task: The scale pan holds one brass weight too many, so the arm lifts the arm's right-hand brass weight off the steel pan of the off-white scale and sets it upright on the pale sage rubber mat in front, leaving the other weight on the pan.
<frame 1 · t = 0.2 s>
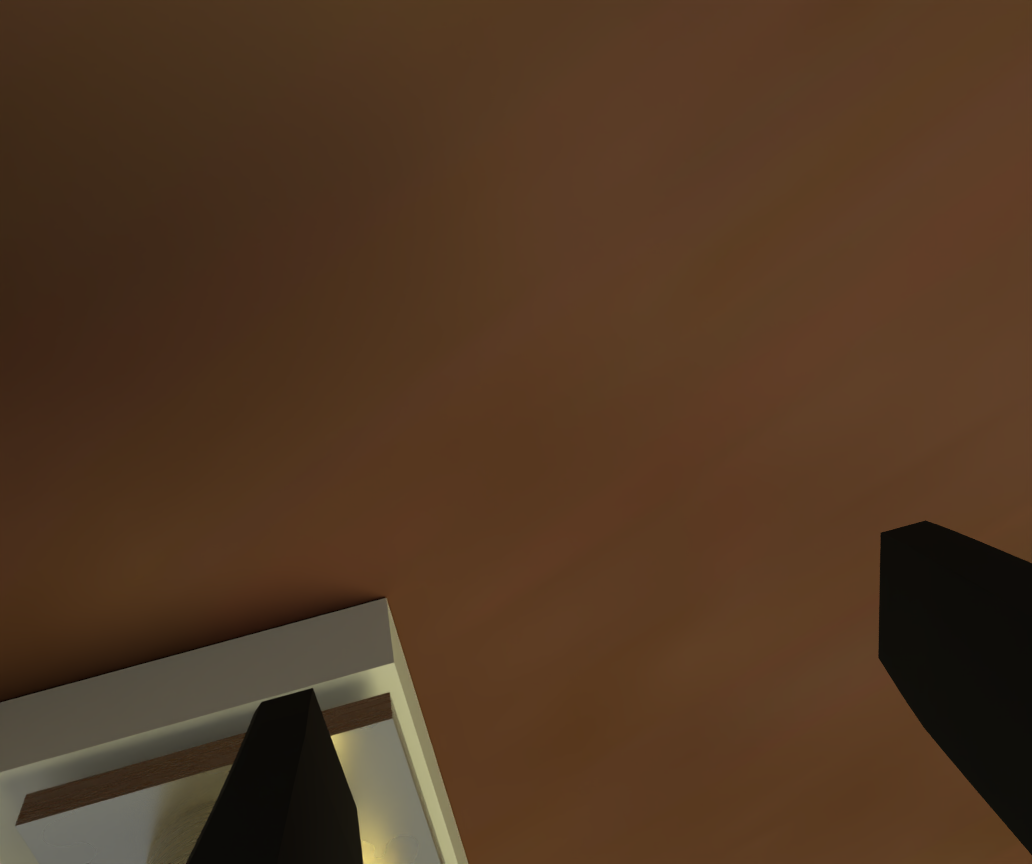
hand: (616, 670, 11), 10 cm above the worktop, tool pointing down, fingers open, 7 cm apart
scale: (257, 823, 24), on the worktop
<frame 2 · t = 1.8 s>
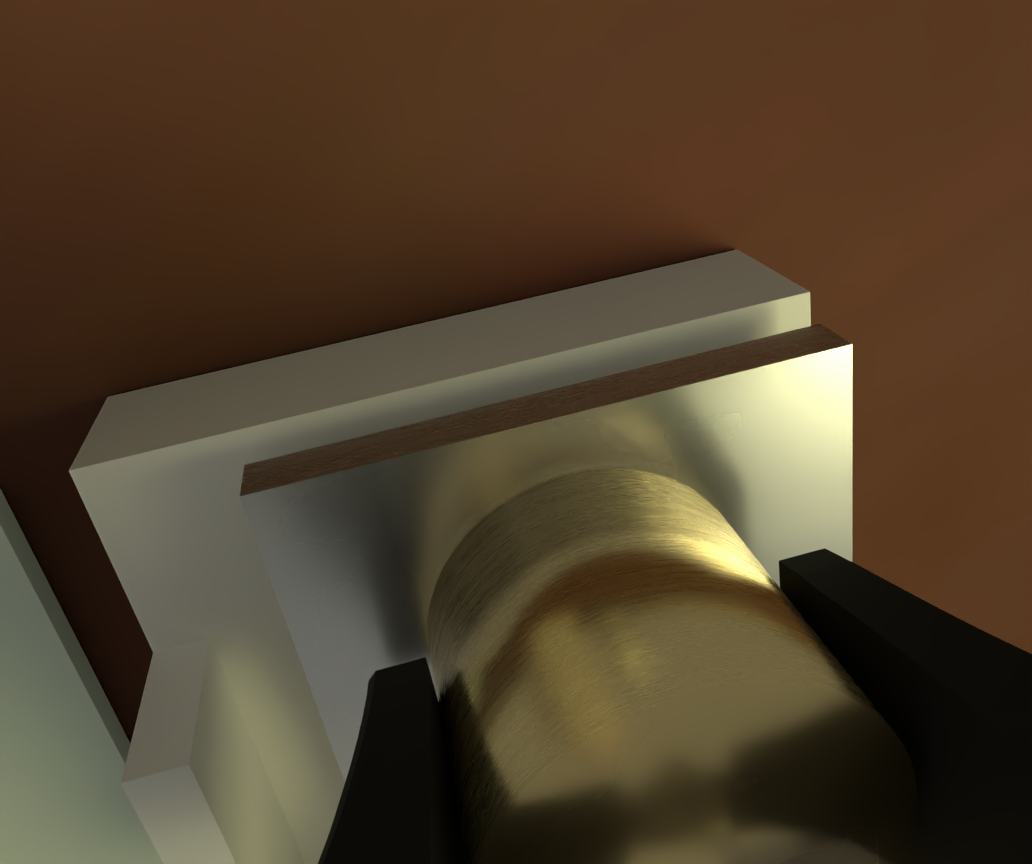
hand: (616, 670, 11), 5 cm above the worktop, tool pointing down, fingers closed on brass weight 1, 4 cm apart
scale: (502, 621, 17), on the worktop
scale pan: (601, 727, 14), point 3 cm above the worktop, slide at -0.6 cm, touching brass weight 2, brass weight 1
brass weight 1: (590, 614, 12), point 4 cm above the worktop, touching gripper, scale pan
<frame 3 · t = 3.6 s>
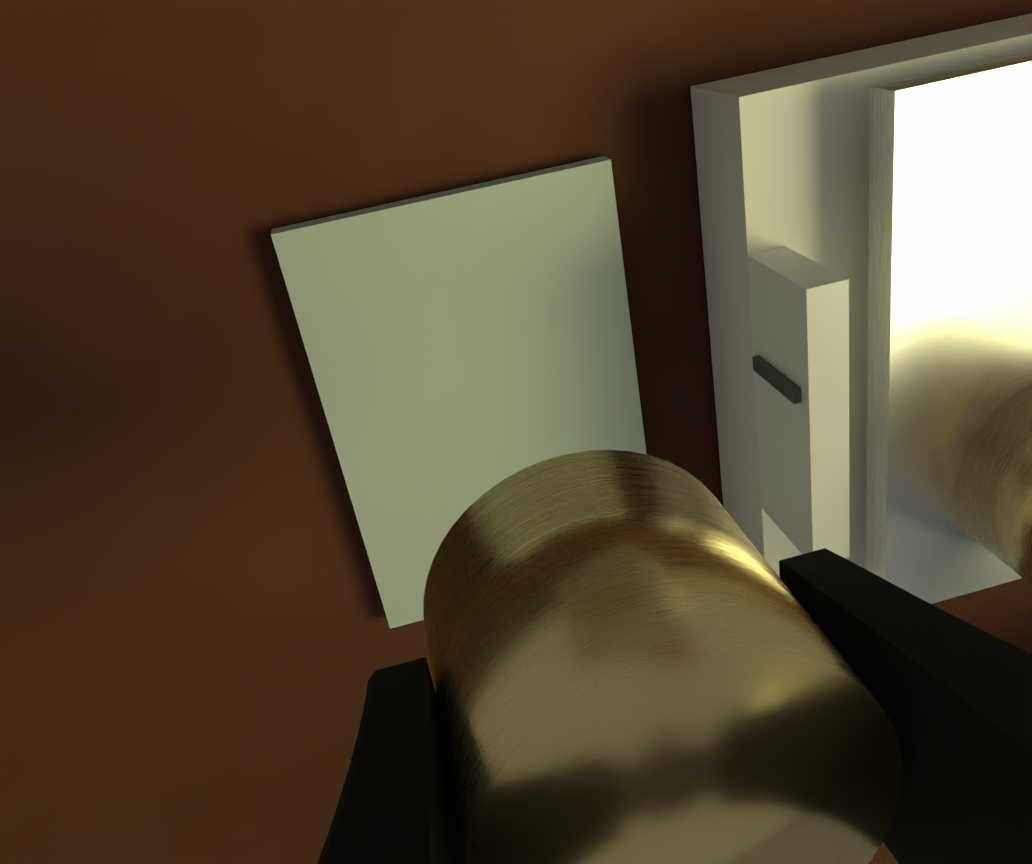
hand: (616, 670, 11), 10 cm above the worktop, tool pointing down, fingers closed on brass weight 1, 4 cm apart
scale: (905, 304, 22), on the worktop
brass weight 1: (584, 594, 12), point 9 cm above the worktop, touching gripper
rubber mat: (486, 407, 21), on the worktop
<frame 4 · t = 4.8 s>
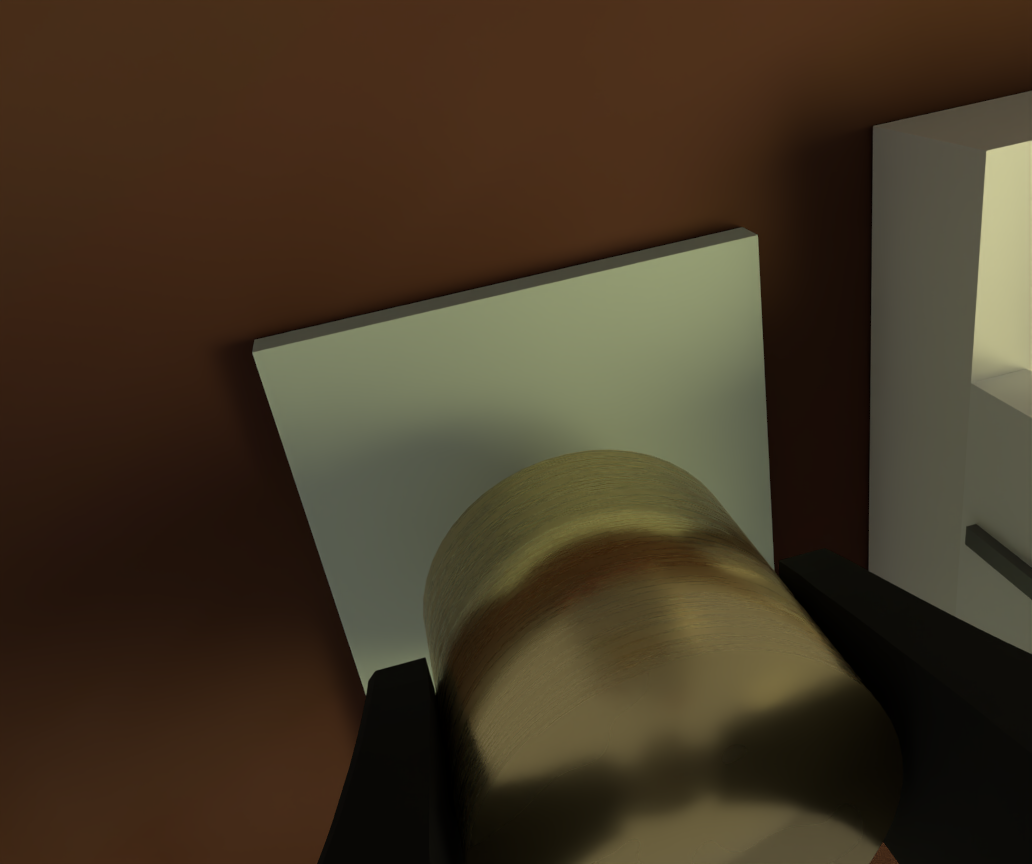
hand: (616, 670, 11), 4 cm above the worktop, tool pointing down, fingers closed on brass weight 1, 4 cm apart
brass weight 1: (584, 594, 12), point 2 cm above the worktop, touching gripper
rubber mat: (558, 571, 15), on the worktop
when the fingers open (2 cm above the worktop, at t = 5.6 s): brass weight 1 stays where it is, resting on rubber mat.
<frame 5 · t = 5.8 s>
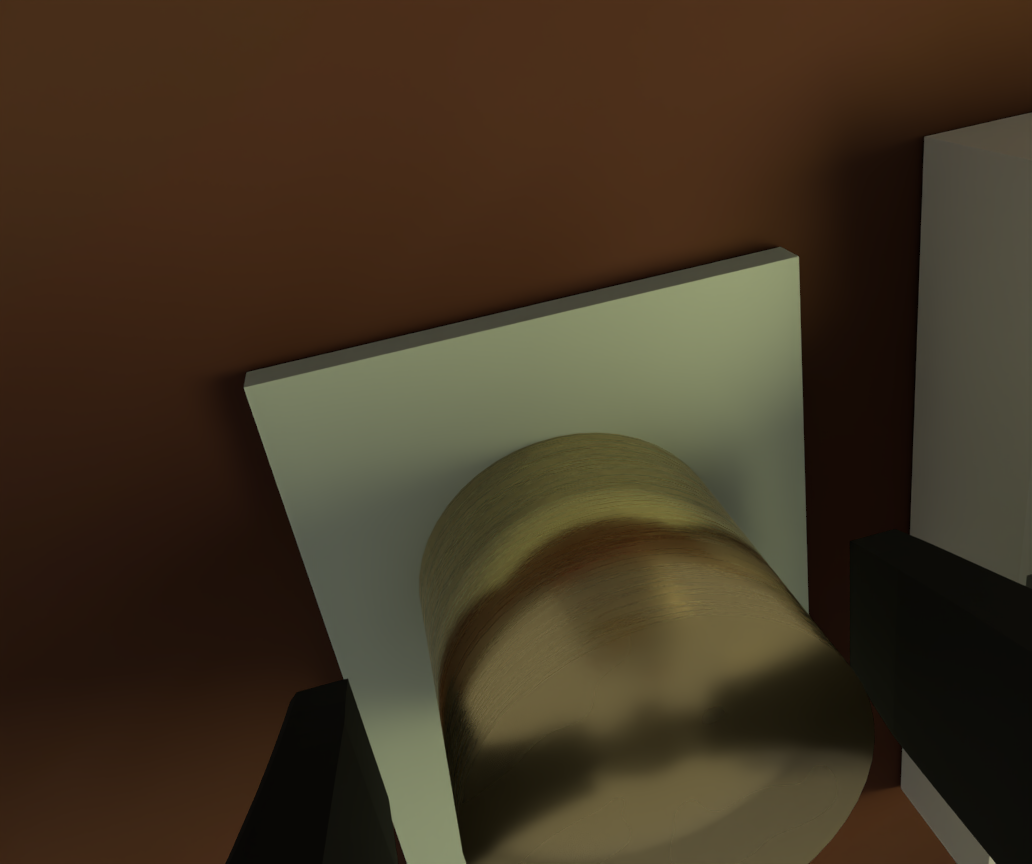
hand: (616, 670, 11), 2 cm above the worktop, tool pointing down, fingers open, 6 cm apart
brass weight 1: (575, 573, 13), point 1 cm above the worktop, touching rubber mat
rubber mat: (576, 616, 14), on the worktop
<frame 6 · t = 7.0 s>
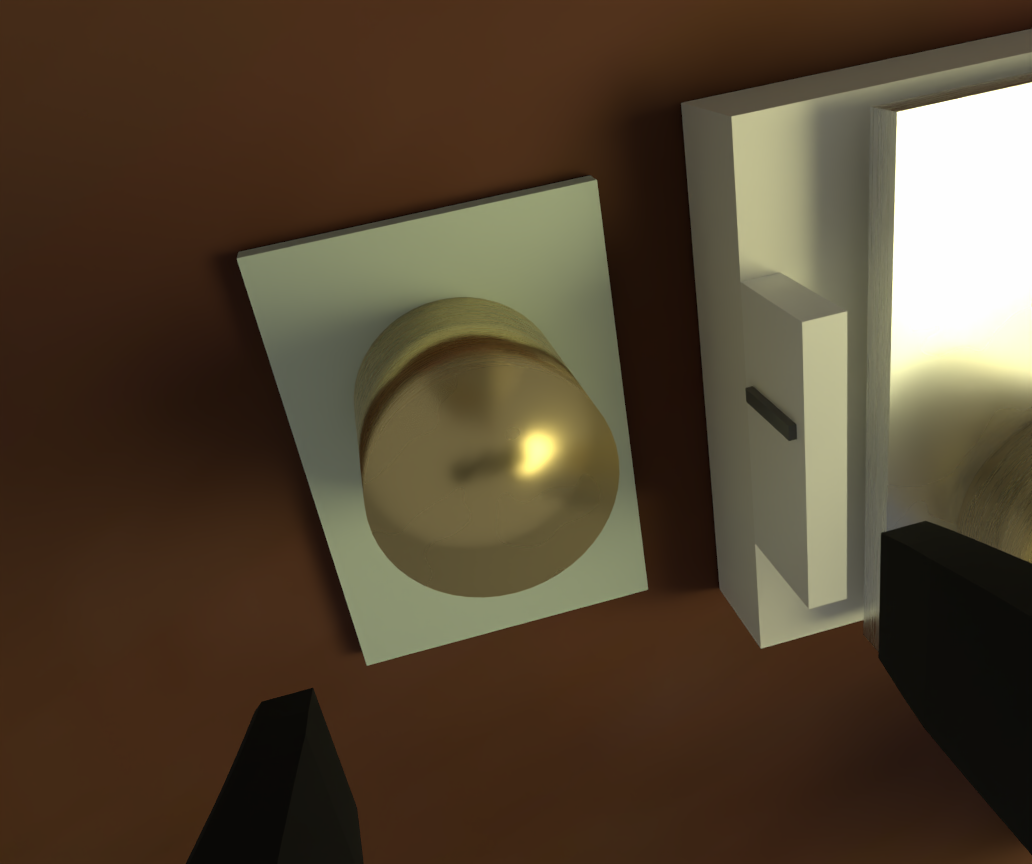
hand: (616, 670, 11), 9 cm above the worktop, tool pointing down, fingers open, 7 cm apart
scale: (906, 328, 21), on the worktop
brass weight 1: (460, 399, 19), point 1 cm above the worktop, touching rubber mat
rubber mat: (467, 436, 20), on the worktop
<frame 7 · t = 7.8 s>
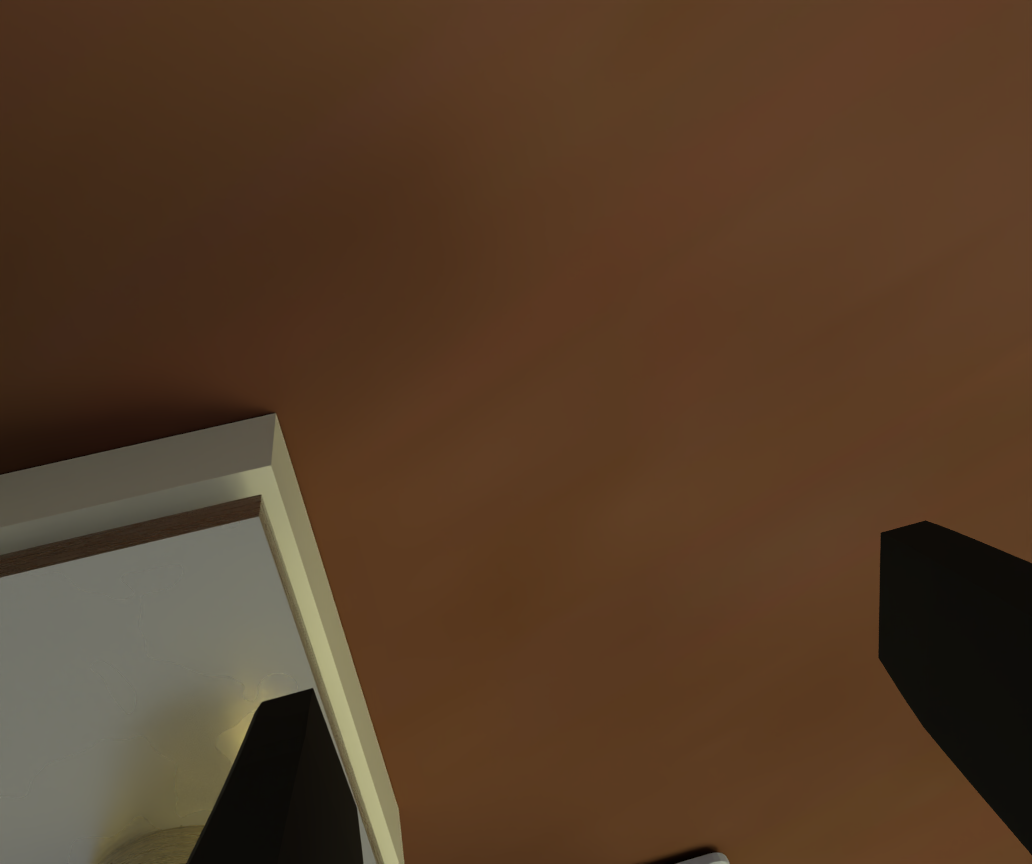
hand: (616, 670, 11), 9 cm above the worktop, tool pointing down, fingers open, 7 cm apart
scale: (132, 690, 21), on the worktop
scale pan: (154, 782, 18), point 3 cm above the worktop, slide at -0.5 cm, touching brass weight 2
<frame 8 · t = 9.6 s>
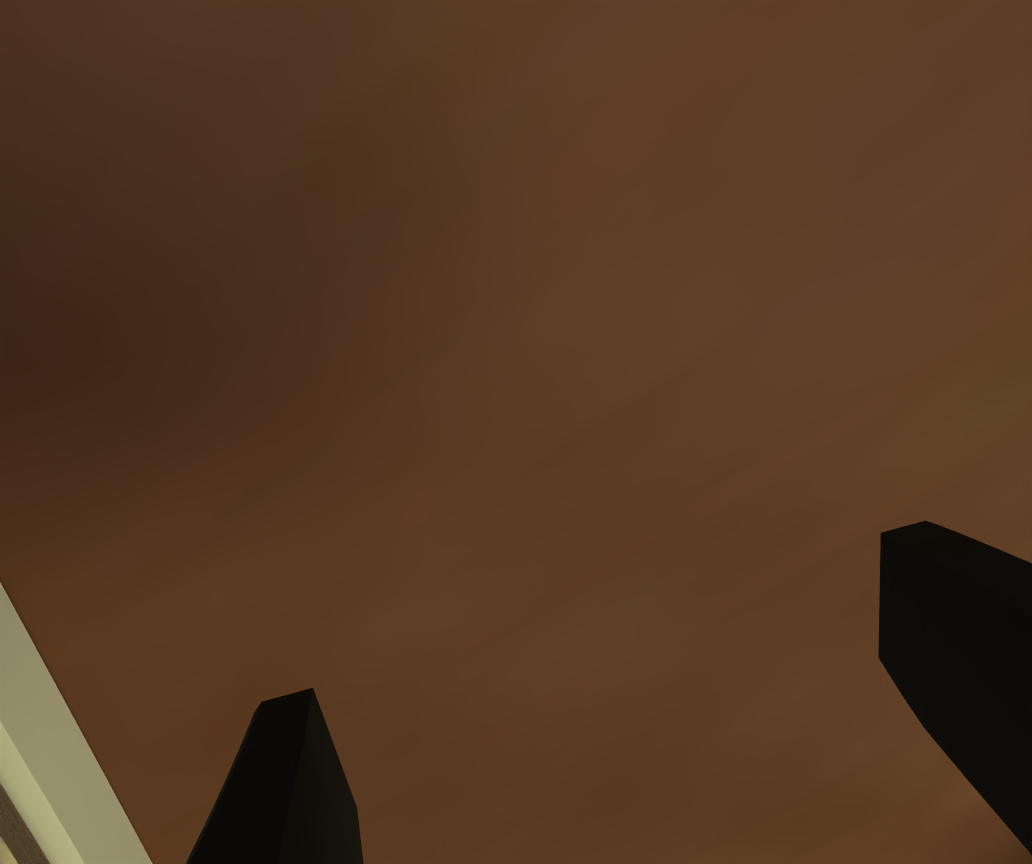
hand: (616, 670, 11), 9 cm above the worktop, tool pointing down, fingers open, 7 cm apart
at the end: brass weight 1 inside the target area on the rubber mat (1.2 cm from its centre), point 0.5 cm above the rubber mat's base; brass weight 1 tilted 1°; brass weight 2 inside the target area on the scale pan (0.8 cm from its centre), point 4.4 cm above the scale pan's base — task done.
